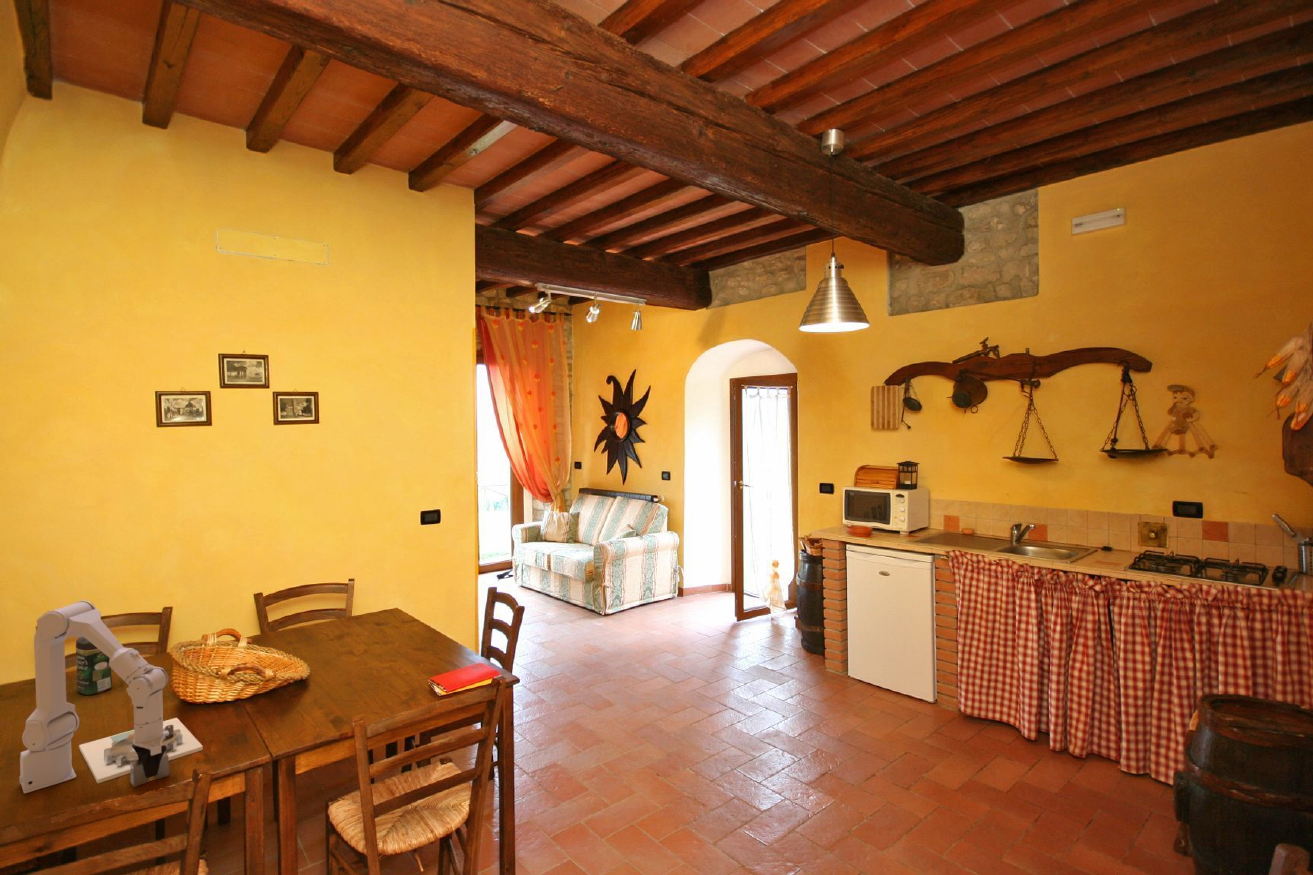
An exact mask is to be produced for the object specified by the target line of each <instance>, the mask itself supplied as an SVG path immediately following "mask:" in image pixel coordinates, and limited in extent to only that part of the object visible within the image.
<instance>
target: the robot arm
mask: <svg viewBox="0 0 1313 875" xmlns="http://www.w3.org/2000/svg"><path fill="white" fill-rule="evenodd" d="M101 618H102V615H101V610H99V609H98V608H96V606H95V605H94V604H93V602H91V601H89V600H80V601H79V600H78V601H77V602H76V603H72V604H69V605H66V606H62V607H59V608H57V609H51V610H48V611H46V612H45V613H43V614H42V615H41V616H39V617H38V618H37V619H36V629H37V630H36V632H35V633H34V637H33V646H34V647H33V649H34V650H33V651H34V674H35V675H34V676H35V679H34V680H35V701H36V702H35V705H36V706H35V707H36V708H35V709H34V711H33V712H32V713H31V714H30V715H29V716H28V718H27V719H25V720H26V721H25V727H24V730H23V733H22V735H21V741H22V744H23V746H25V747H26V749H27V750H24V751H21V752H20V754H19V755H20V756H19V763H20V764H19V769H20V770H19V772H20V775H19V778H18V779H19V784H20V786H21V789H22V792H23V794H27V793H32V792H35V791H38V790H40V789H45V788H48V787H50V786H54V785H57V784H60V783H63V782H67V781H71V780H73V779H76V778H77V774H76V773H75V770H74V768H73V766H72V764H73V763H72V762H73V760H72V738H73V737H74V732H76V731H77V729H78V728H79V725H80V717H79V716H78V714H77V712H76V705H75V704H74V703H73V704H72V703H71V702H68V701H67V681H66V680H67V679H66V678H67V676H66V652H65V651H66V649H65V641H66V640H67V639H68V638H79V637H85V638H86V639H87V640H88V641H90V642H91V643H92V644H93V645H95V646H96V647H97V648H98V649H99V650H101V651H102V652H103V653H104V654H105V655H107V656H108V657H109V658H110V660H109V666H110V667H111V670H112V671H114V673H115V674H116V675H118V677H120V679H122V681H123V682H125V683H126V684H127V685H128V687H126V693H127V694H128V696H129V697H130V699H131V704H132V706H133V730H134V740H133V745H132V747H133V749H134V750H135V751H136V753H137V756H138V759H141V761H142V763H143V767H144V772H145V775H146V778H150V777H153V776H156V775H157V774H158V770H159V766H160V762H161V759H162V756H163V754H164V752H165V751H166V748H167V747H166V746H165V745H163V746H161V743H162V741H163V738H164V737H165V736H168V735H169V731H167V730H166V731H163V721H164V717H163V716H164V708H163V707H164V703H163V702H164V701H163V699H164V698H163V693H164V692H163V688H165V687H166V686H167V684H168V682H169V675H168V674H167V671H165V668H163V667H159V666H154V665H153V664H150V663H149V662H148V661H147V660H146V659H144V657H143V656H141V654H140V652H139V651H138V650H137V649H135V648H133V647H125V646H124V645H123V644H122V643H121V642H120V641H119V640H118V639H117V637H116V636H115V635H114V634H113V632H112V631H111V630H110V629H109V628H108V626H107V624H105V623H104V622H103V620H102V619H101Z"/></svg>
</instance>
